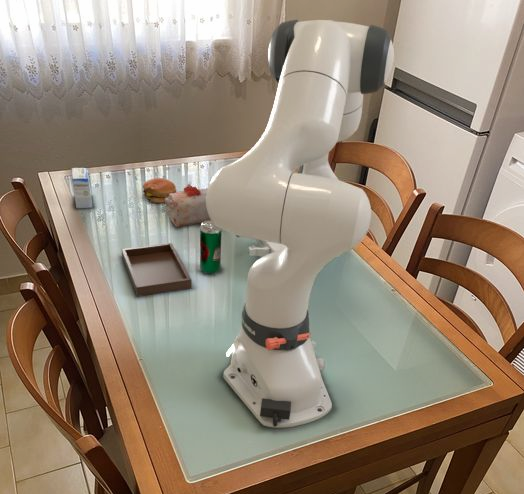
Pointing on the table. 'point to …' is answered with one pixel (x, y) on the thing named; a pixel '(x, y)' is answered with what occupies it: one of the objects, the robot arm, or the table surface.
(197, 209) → the food item
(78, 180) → the medicine box
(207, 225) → the soda can
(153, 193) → the burger
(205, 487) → the table surface
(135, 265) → the tray
